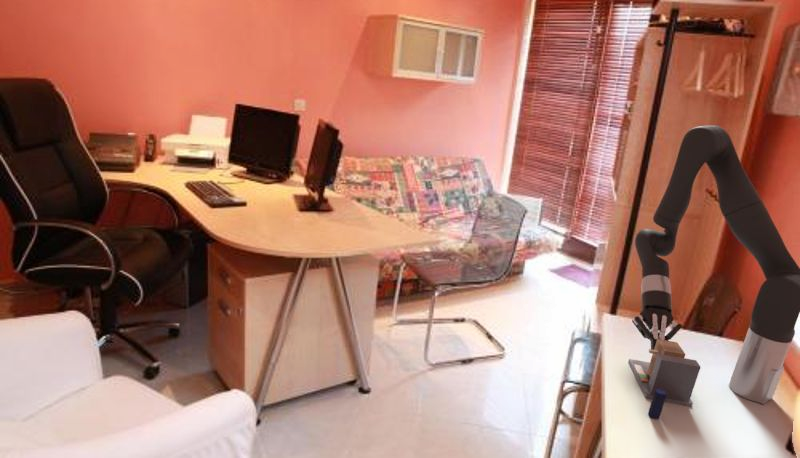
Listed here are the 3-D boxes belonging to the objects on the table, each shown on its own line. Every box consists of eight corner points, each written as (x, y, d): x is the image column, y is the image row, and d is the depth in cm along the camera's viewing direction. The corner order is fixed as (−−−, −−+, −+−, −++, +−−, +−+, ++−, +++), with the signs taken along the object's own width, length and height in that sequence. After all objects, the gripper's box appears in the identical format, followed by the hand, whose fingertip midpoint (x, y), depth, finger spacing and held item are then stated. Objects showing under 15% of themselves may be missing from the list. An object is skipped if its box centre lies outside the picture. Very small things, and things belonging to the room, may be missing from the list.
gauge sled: (638, 370, 142) (648, 337, 139) (666, 376, 142) (677, 342, 138) (644, 383, 137) (655, 349, 134) (674, 389, 136) (685, 354, 133)
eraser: (656, 414, 127) (664, 389, 125) (659, 420, 125) (667, 395, 123) (647, 412, 127) (654, 387, 125) (650, 418, 125) (657, 393, 123)
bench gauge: (628, 362, 149) (638, 326, 145) (669, 369, 148) (680, 333, 144) (645, 398, 133) (657, 359, 129) (691, 406, 132) (705, 367, 128)
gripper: (636, 285, 149) (637, 346, 141) (686, 293, 147) (689, 355, 139) (627, 295, 155) (627, 354, 147) (674, 303, 154) (677, 362, 146)
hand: (657, 354), depth 143 cm, fingers closed
